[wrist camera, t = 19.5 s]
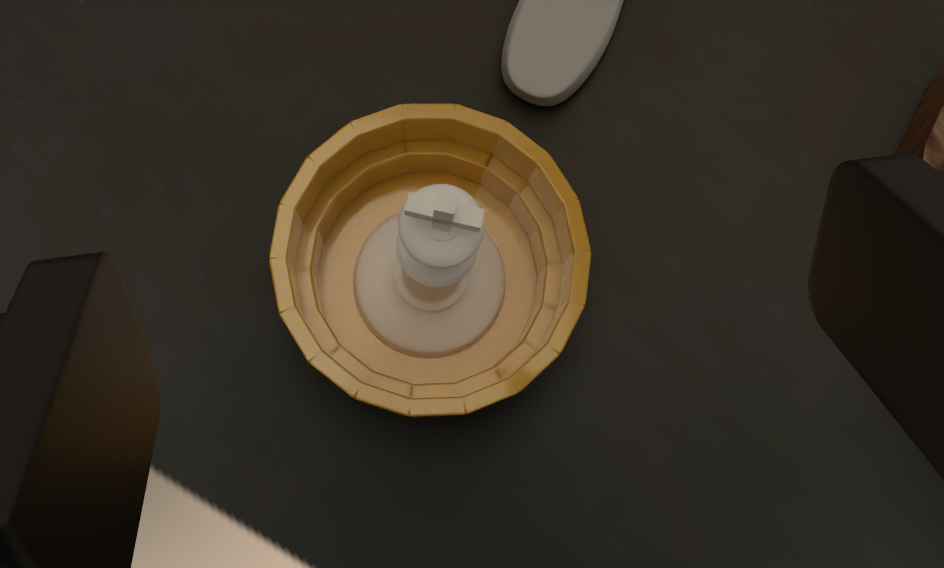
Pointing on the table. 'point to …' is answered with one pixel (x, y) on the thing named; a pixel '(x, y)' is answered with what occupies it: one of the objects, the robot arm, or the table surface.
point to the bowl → (383, 194)
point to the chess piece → (430, 275)
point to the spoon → (555, 46)
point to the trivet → (928, 127)
